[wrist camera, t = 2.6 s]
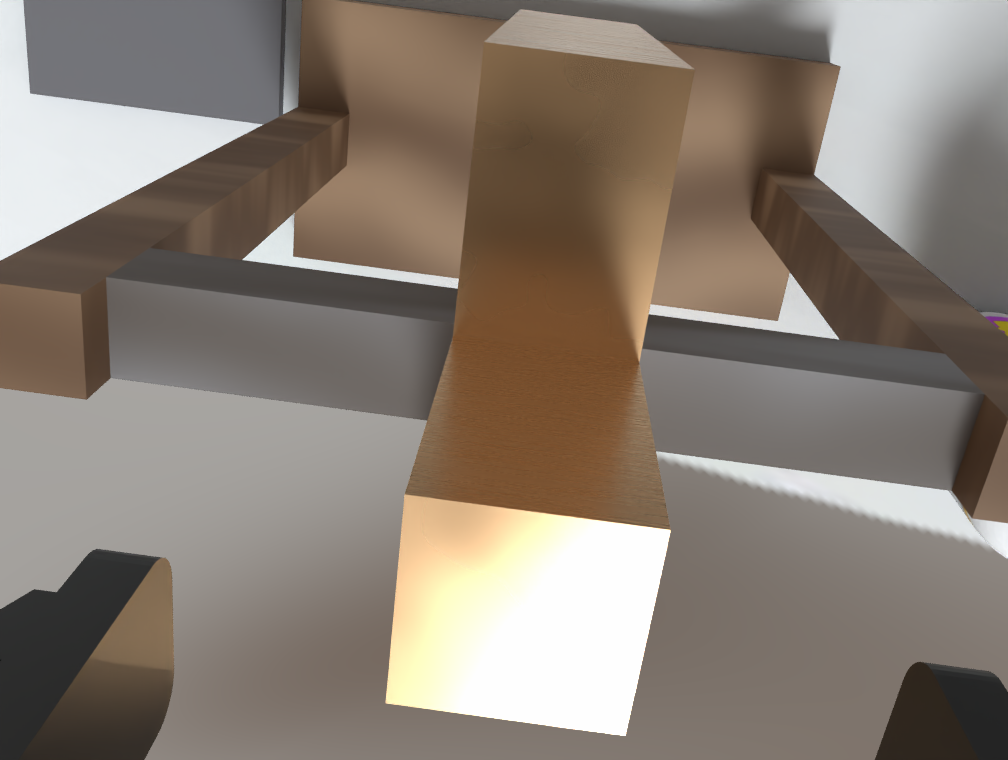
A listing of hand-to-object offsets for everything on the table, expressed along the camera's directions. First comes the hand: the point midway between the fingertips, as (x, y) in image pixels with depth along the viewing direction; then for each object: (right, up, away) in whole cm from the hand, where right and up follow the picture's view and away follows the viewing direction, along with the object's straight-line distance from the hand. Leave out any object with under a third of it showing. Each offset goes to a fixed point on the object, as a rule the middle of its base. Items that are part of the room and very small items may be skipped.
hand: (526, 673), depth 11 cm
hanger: (+1, +7, +17) cm, 18 cm away
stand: (+2, +12, +28) cm, 31 cm away
